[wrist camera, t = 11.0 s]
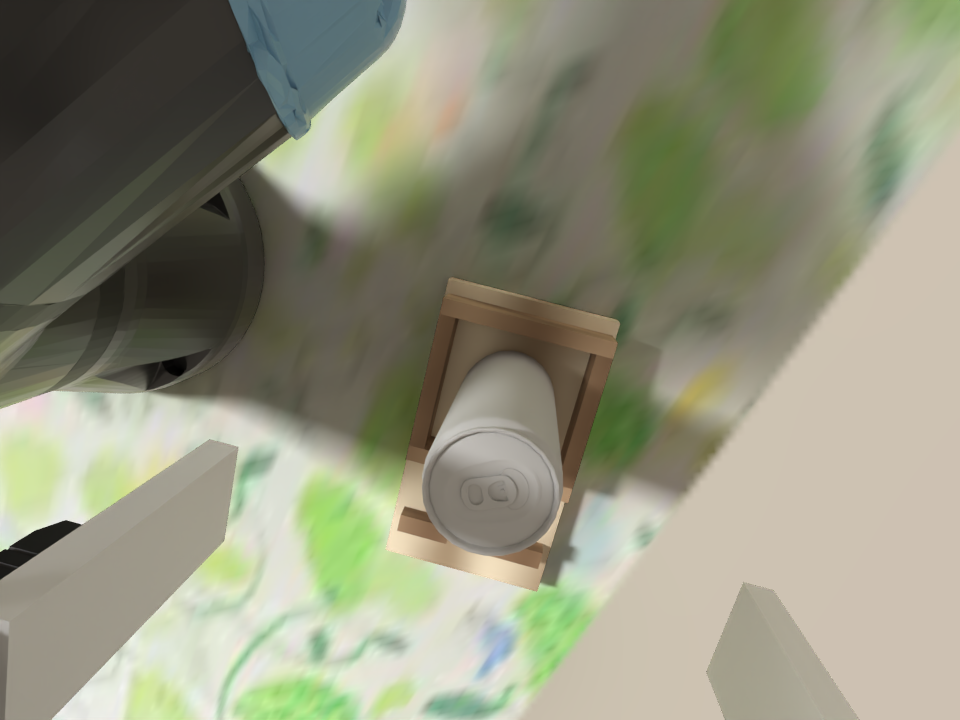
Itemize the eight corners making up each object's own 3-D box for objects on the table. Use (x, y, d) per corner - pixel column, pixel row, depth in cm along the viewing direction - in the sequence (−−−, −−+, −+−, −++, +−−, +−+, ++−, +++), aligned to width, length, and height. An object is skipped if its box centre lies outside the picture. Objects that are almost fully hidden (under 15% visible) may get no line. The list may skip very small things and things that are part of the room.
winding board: (390, 538, 34) (376, 569, 31) (451, 277, 31) (442, 282, 27) (537, 579, 34) (537, 614, 31) (617, 319, 30) (626, 330, 27)
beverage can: (560, 428, 31) (575, 551, 19) (471, 441, 31) (433, 567, 20) (545, 340, 30) (552, 413, 18) (454, 355, 30) (403, 435, 19)
